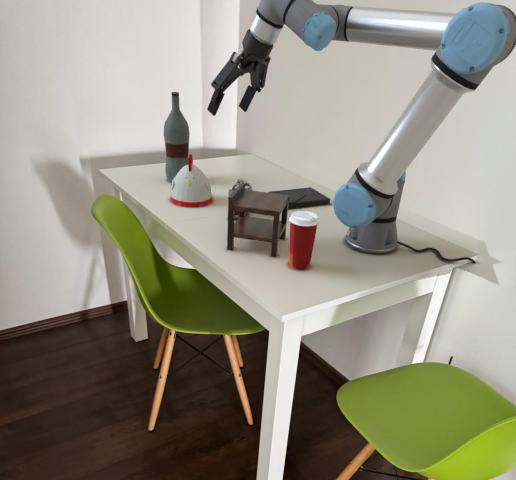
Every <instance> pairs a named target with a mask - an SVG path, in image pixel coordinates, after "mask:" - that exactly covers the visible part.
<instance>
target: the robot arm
mask: <svg viewBox="0 0 516 480" xmlns="http://www.w3.org/2000/svg"><path fill="white" fill-rule="evenodd" d="M284 26H286V27H287V28H288V29H290V30H291V31H292V32H293V34H295V35H296V36H297V37H298V38H299V39H300V40H301V41H302V42H303V43H304V44H305V45H306V46H308V47H309V48H311V49H312V50H313V51H315V52H321V51H322V50H324V49H325V48H327V47H328V46H329V45H330V43H331V42H332V41H335V42H336V41H338V42H346V43H358V44H368V45H378V46H387V47H398V48H406V49H415V50H422V51H434V53H433V55H432V56H431V58H430V70H431V71H429V73H428V74H427V77H426V78H425V79H424V81H423V82H422V84H421V85H420V86H419V88H418V89H417V91H416V92H415V94H414V95H413V97H412V98H411V99H410V101H409V103H408V104H407V105H406V107H405V109H404V110H403V111H402V113H401V114H400V116H399V117H398V119H397V120H396V122H395V123H394V124H393V126H392V127H391V129H390V130H389V132H388V133H387V135H386V136H385V137H384V138H383V140H382V142H381V143H380V145H379V146H378V147H377V149H376V151H375V152H374V153H373V154H372V156H371V158H370V159H369V161H365V162H361V163H360V164H359V165H358V166H357V168H356V169H355V170H354V172H353V173H352V175H351V176H350V178H349V179H348V181H347V182H346V183H344V184H342V185H341V186H340V187H338V189H337V190H336V191H335V193H334V196H333V200H332V207H333V212H334V214H335V216H336V218H337V219H338V221H340V222H341V224H343V225H344V226H345V227H348V229H347V231H346V234H345V239H344V240H345V241H344V242H345V244H346V245H347V246H349V248H351V249H352V250H354V251H358V252H361V253H363V254H364V253H365V254H373V255H387V254H390V253H393V252H395V251H396V250H397V248H398V245H400V246H402V247H404V248H407V249H408V250H411V251H413V252H414V253H415V252H416V253H423V252H426V251H432V252H435V253H436V254H437V256H438V258H439V259H440V260H442V261H445V262H448V263H453V262H454V263H455V262H459V261H470V262H471V263H472V264H474V265H475V264H477V262H476V260H475V259H473V258H472V257H468V256H463V257H458V258H457V257H456V258H446V257H444V256H442V254H441V252H440V251H439V250H438V249H437V248H435V247H430V246H429V247H425V248H422V249H418V248H414V247H412V246H411V245H409V244H406V243H404V242H401V241H399V239H398V231H397V217H398V213H399V209H400V204H401V200H402V196H403V191H404V186H405V183H406V176H407V172H406V171H407V169H408V168H409V167H410V165H411V164H412V163H413V162H414V160H415V159H416V157H417V156H418V155H419V154H420V152H421V151H422V150H423V148H424V147H425V146H426V145H427V143H428V142H429V140H430V139H431V138H432V136H433V135H434V133H436V132H437V130H438V128H439V127H440V126H441V124H442V123H443V122H444V120H445V119H446V118H447V117H448V115H449V114H450V112H451V111H452V110H453V109H454V107H455V106H456V105H457V104H458V102H459V101H460V100H461V98H462V97H463V95H466V94H467V93H472V92H475V91H476V90H477V89H478V87H479V86H480V85H481V83H482V82H483V81H484V80H485V78H487V76H488V75H489V73H490V72H491V71H492V69H494V67H495V66H497V65H499V64H501V63H502V62H504V61H505V60H506V59H507V58H508V57H509V56H510V55H511V54H512V52H513V51H514V49H515V48H516V13H515V12H514V11H513V10H512V9H511V8H510V7H507V6H505V5H502V4H494V3H492V2H484V1H483V2H476V3H473V4H471V5H469V6H467V7H465V8H464V7H463V8H461V9H460V10H458V12H446V11H445V12H443V11H430V10H429V11H428V10H413V9H402V8H401V9H399V8H384V7H373V6H371V7H370V6H357V5H356V6H353V5H345V4H323V3H322V4H321V3H320V4H319V3H317V2H314V1H313V0H259V3H258V6H257V7H256V9H255V12H254V15H253V16H252V19H251V21H250V23H249V26H248V27H249V28H248V29H247V30H246V32H245V33H244V37H243V39H242V42H241V44H242V49H243V50H242V51H241V52H240V54H239V53H237V52H236V51H233V52H232V53H231V56H230V57H229V59H228V61H227V62H226V63H225V64H224V66H223V67H222V68H221V69H220V71H219V72H218V74H217V75H216V76H215V78H214V79H213V80H212V82H211V83H210V86H211V87H212V88H213V89H214V91H213V93H212V95H211V98H210V101H209V104H208V106H207V108H206V110H207V111H208V112H209V113H210V114H211V115H212V116H213V117H215V116H216V115H217V113H218V110H219V109H220V106H221V104H222V101H223V99H224V97H225V95H226V93H225V91H227V89H229V87H230V86H231V85H233V83H235V81H236V80H238V79H239V78H240V77H243V76H244V75H245V74H249V79H250V85H249V84H248V85H247V87H246V89H245V91H244V94H243V95H242V97H241V100H240V102H239V104H238V107H239V109H241V110H242V111H243V113H247V111H248V109H249V107H250V105H251V103H252V102H253V99H254V98H255V95H256V93H261V91H262V89H264V88H265V86H266V80H267V73H268V69H269V64H270V62H271V59H272V58H271V56H270V55H271V53H272V52H273V51H272V50H273V49H274V44H276V43H277V41H278V38H279V36H280V35H281V32H282V30H283V28H284ZM453 358H454V356H453V355H452V356H451V355H450V357H449V360H448V363H447V365H448V364H449V365H450V366H451V365H452V362H453Z"/></svg>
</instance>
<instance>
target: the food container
mask: <svg viewBox="0 0 516 480" xmlns="http://www.w3.org/2000/svg"><path fill="white" fill-rule="evenodd" d="M236 179H237V181H236V183H235V184H233V185H232V187H231V188H230V189H228V194H227V195H228V197H229V196H230V195H231V194H232V193H233V192H234V190H235V189H236V188H237V187H238V186H239V185H240V184H241V183H242V182H244V183H245V190H252V191H253V186H252V184H251V182H249V180H246V179H242V178H236ZM239 215H240V212H239V211H235V219H234V221H237V220H238V218H239ZM246 216H249V213H246Z"/></svg>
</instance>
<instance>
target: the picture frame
mask: <svg viewBox="0 0 516 480" xmlns="http://www.w3.org/2000/svg"><path fill="white" fill-rule="evenodd" d="M267 193H275V194H282V195H289V204H288V210H292V209H293V210H295V209H301V208H310V207H318V206H325V205H326V206H327V205H331V198H330V197H328V196H326V195H325V194H323V193H322V192H320V191H318V190H316V189H315V188H312V187H311V186H309V187H301V188H300V187H299V188H292V189H281V190H271V191H268V192H267Z"/></svg>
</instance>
